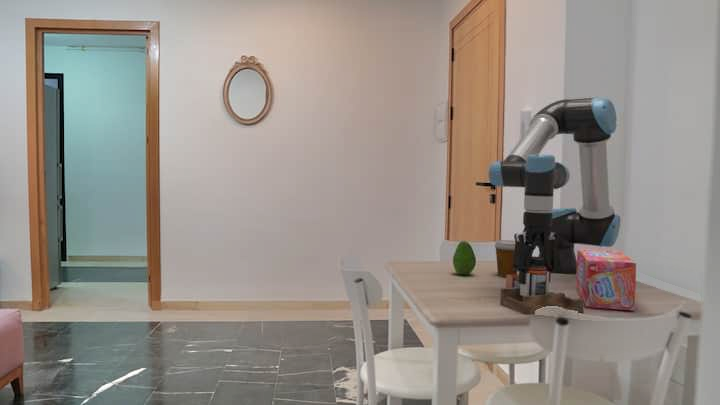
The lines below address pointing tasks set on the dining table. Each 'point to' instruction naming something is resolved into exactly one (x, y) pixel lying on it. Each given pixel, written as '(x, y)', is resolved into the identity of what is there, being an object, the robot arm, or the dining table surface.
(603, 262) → the box
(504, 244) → the disposable coffee cup
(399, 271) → the dining table surface
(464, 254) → the avocado
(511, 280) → the bar
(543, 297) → the base
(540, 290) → the supplement bottle
